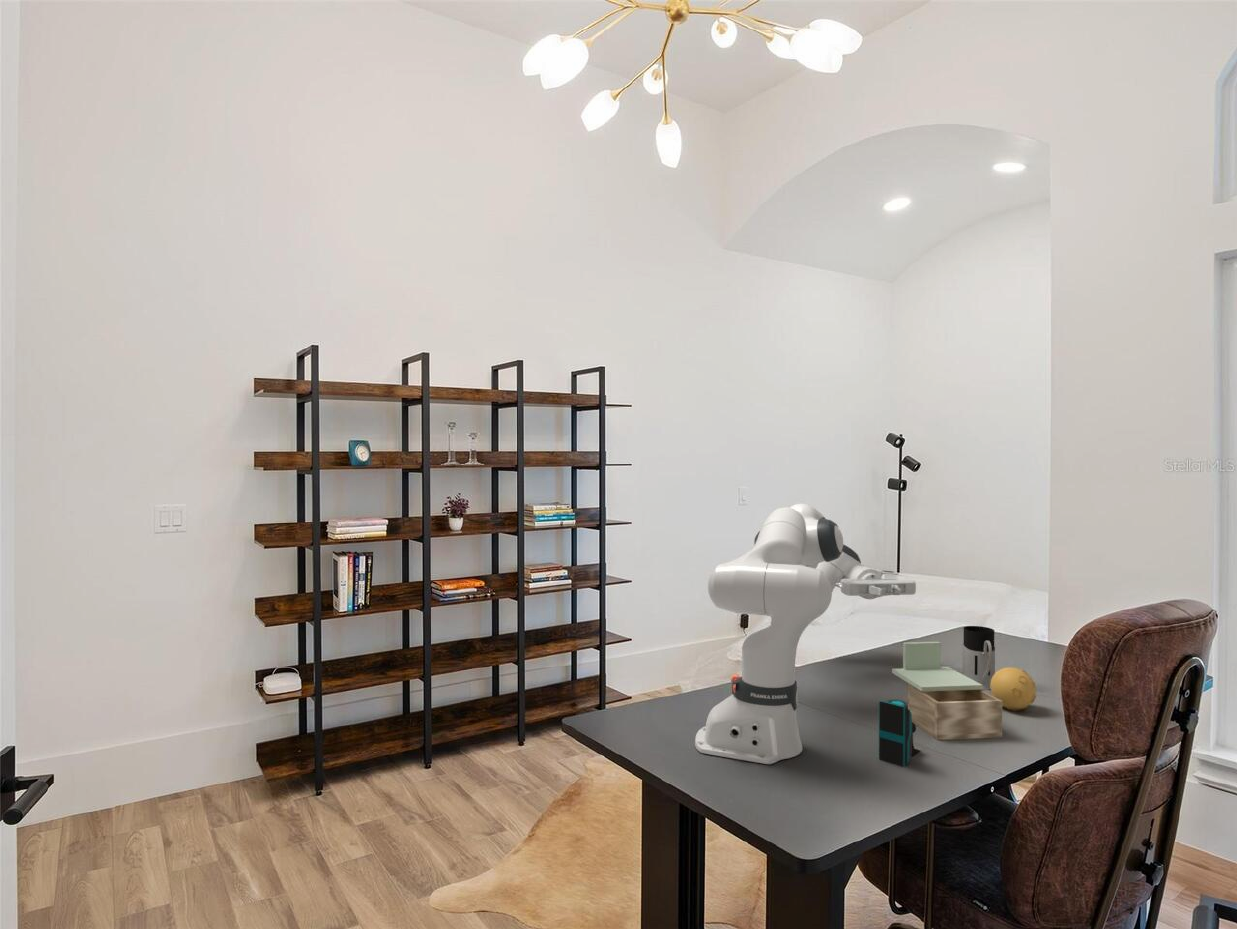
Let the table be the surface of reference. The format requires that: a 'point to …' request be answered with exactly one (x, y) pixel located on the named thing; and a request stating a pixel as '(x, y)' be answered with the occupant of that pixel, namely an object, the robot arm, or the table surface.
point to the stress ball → (1013, 688)
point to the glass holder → (979, 655)
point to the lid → (930, 669)
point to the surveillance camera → (896, 732)
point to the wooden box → (956, 713)
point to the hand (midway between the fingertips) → (890, 592)
